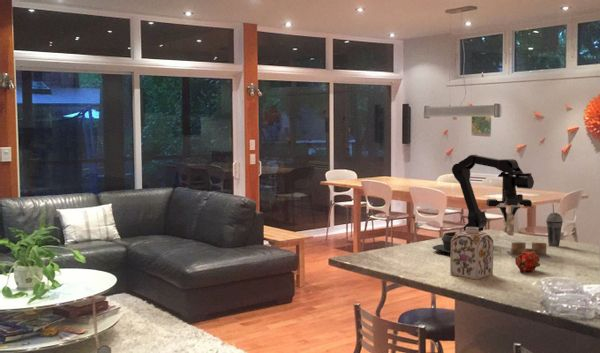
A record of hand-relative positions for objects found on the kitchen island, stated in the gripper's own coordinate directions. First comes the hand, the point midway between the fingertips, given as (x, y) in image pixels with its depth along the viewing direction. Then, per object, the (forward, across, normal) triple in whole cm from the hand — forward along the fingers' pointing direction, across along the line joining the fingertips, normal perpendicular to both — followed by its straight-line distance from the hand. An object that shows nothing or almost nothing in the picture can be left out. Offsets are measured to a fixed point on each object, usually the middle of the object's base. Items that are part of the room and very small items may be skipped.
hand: (508, 221), depth 281 cm
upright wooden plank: (+5, 0, 0) cm, 5 cm away
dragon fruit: (+13, -2, -43) cm, 45 cm away
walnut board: (+12, +6, -13) cm, 19 cm away
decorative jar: (+13, -24, -51) cm, 58 cm away
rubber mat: (+13, +6, -13) cm, 19 cm away
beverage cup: (+13, +23, +10) cm, 28 cm away
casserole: (+13, -22, -10) cm, 28 cm away
